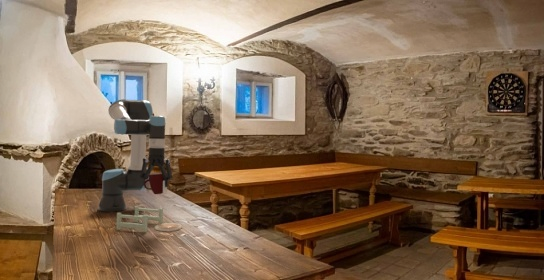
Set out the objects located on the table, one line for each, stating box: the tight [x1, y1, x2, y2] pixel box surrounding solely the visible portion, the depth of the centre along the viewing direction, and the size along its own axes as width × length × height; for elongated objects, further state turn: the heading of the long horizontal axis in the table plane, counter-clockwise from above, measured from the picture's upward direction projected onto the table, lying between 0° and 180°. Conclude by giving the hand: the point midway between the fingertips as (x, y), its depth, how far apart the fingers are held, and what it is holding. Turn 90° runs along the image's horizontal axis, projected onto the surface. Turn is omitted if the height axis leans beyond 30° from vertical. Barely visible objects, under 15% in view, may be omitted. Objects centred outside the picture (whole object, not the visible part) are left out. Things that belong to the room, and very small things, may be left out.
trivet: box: [154, 222, 183, 232], centre depth 202 cm, size 13×13×1 cm
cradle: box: [116, 205, 164, 233], centre depth 203 cm, size 15×18×8 cm
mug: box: [144, 172, 164, 195], centre depth 201 cm, size 10×8×10 cm
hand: (155, 193), depth 201 cm, fingers closed on mug, 9 cm apart
